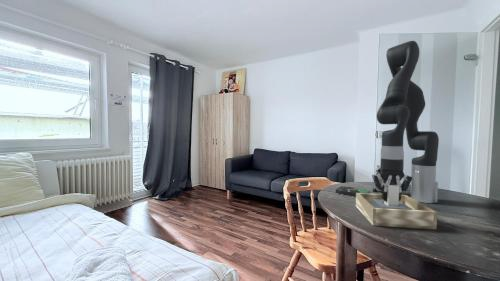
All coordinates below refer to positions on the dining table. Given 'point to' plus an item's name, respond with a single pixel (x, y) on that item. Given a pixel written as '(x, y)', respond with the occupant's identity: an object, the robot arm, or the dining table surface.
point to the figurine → (379, 180)
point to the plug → (392, 195)
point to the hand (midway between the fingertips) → (391, 200)
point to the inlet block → (380, 204)
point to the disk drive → (351, 191)
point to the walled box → (397, 213)
